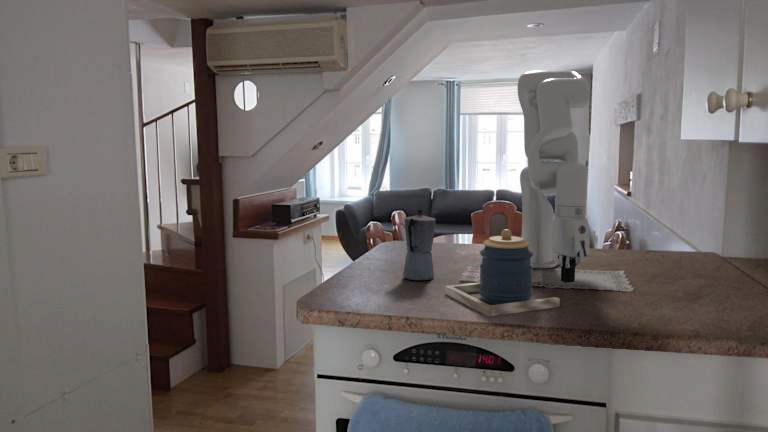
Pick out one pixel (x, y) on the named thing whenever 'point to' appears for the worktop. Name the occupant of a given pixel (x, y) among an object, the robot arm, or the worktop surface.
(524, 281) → the canister
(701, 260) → the worktop surface
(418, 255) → the moka pot
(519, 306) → the bay frame
